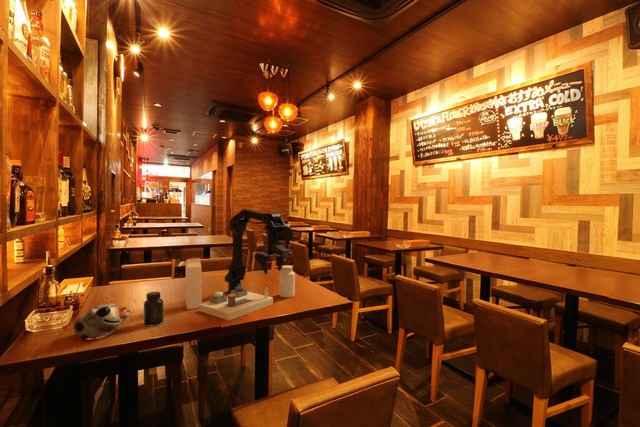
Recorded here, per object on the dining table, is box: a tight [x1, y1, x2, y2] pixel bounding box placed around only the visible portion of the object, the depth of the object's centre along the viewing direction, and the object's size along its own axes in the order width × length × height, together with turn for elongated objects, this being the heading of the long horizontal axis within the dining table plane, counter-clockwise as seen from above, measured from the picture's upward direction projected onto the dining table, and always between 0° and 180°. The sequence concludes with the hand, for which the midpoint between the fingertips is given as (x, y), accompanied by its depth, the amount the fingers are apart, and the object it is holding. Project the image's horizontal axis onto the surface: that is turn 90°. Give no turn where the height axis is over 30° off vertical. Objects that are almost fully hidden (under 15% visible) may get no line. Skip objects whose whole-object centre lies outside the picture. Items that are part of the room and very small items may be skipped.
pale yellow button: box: [213, 291, 224, 298], centre depth 146 cm, size 4×4×2 cm
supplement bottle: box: [143, 291, 164, 326], centre depth 128 cm, size 7×7×12 cm
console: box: [199, 286, 274, 322], centre depth 147 cm, size 19×26×8 cm
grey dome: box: [235, 285, 244, 292], centre depth 156 cm, size 4×4×2 cm
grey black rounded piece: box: [73, 303, 131, 339], centre depth 117 cm, size 15×12×14 cm
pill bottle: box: [278, 265, 296, 299], centre depth 166 cm, size 8×8×15 cm
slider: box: [227, 293, 236, 306], centre depth 141 cm, size 3×2×4 cm
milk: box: [185, 257, 203, 310], centre depth 148 cm, size 6×6×22 cm
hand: (272, 272), depth 154 cm, fingers open, 9 cm apart
